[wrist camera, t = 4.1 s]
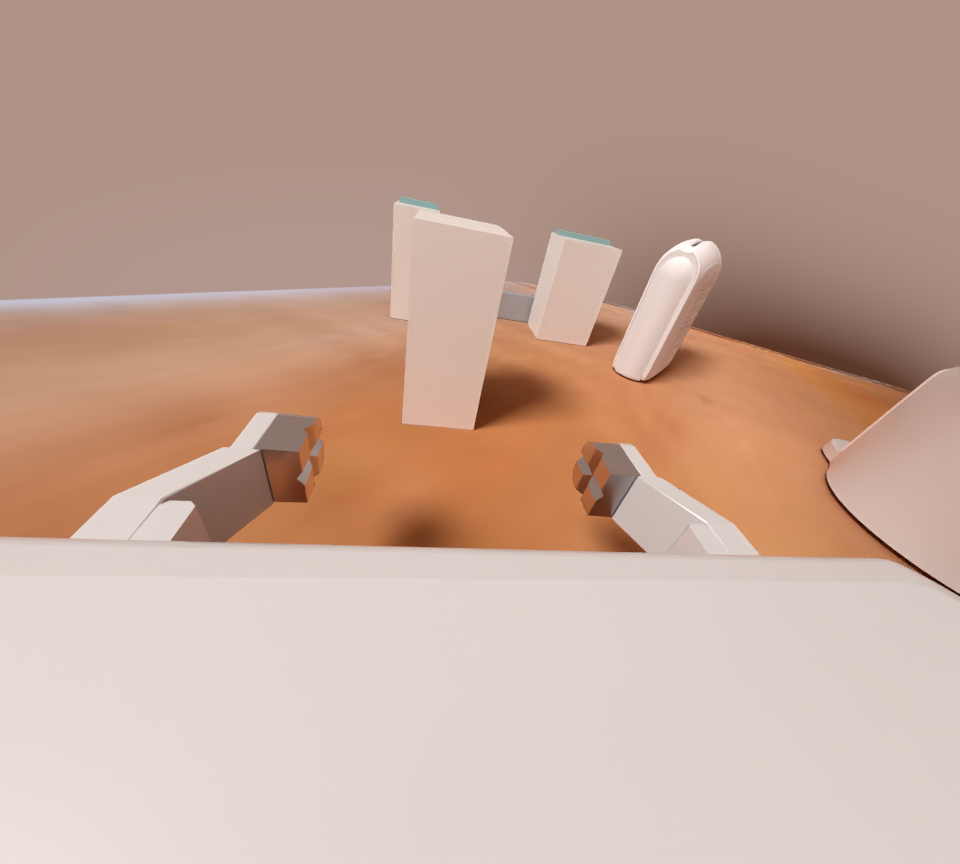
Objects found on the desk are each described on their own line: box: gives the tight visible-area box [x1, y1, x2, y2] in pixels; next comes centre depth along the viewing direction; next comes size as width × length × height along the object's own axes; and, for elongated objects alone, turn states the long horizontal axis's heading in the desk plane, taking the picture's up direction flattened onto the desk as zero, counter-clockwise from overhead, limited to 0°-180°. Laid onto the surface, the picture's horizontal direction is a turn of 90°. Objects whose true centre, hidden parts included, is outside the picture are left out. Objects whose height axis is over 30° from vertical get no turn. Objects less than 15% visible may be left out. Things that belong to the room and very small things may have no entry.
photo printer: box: [612, 239, 721, 381], centre depth 34 cm, size 10×4×12 cm, turn 139°
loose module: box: [402, 209, 513, 430], centre depth 20 cm, size 4×5×11 cm
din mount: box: [391, 196, 622, 346], centre depth 37 cm, size 22×7×10 cm, turn 96°
